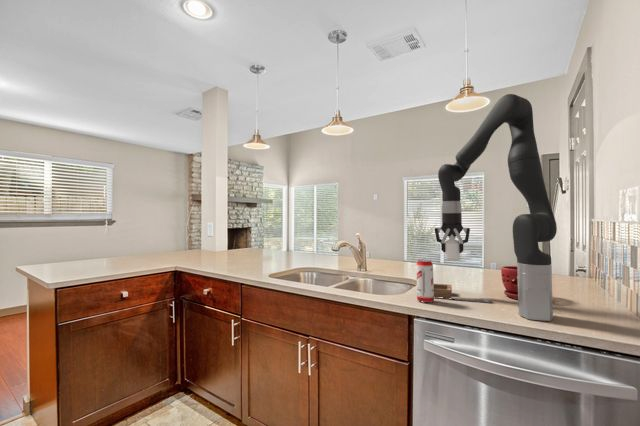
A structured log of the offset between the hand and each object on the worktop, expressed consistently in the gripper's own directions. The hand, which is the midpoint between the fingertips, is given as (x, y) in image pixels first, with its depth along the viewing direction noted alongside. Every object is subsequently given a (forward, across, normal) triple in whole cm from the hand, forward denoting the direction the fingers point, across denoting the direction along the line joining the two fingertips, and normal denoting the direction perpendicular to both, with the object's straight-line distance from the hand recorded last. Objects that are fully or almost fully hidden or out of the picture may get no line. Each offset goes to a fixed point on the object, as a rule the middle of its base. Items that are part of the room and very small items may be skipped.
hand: (452, 252), depth 131 cm
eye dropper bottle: (+3, 0, 0) cm, 3 cm away
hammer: (+18, +2, -2) cm, 18 cm away
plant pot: (+18, +25, +6) cm, 31 cm away
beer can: (+18, -10, -14) cm, 25 cm away
